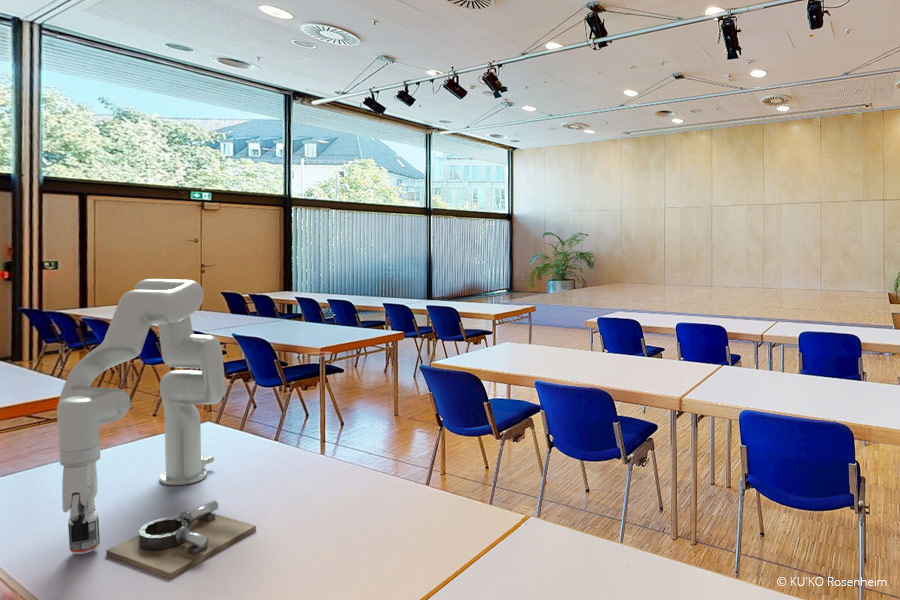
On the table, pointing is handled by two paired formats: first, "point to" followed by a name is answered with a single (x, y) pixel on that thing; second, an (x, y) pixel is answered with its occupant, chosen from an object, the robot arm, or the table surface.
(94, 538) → the pill bottle
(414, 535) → the table surface
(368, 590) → the table surface
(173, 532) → the stand
